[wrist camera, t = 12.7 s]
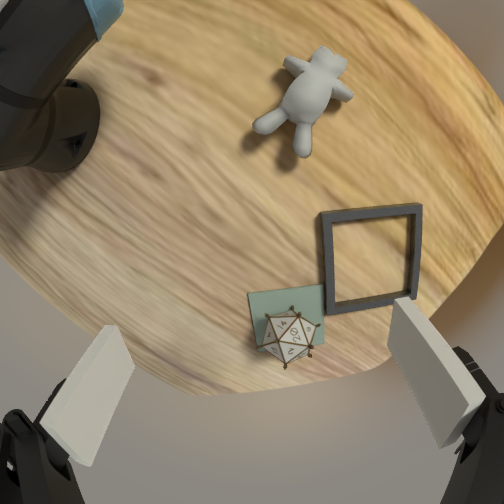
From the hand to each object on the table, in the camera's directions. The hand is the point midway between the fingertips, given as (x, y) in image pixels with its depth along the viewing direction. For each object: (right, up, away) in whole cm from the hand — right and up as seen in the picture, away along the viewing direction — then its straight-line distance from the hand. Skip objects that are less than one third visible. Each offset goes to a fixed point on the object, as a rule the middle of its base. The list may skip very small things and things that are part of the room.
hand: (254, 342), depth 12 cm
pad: (+6, -6, +31) cm, 32 cm away
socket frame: (+18, +3, +27) cm, 32 cm away
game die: (+5, -7, +30) cm, 32 cm away
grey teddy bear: (+7, +24, +20) cm, 32 cm away
